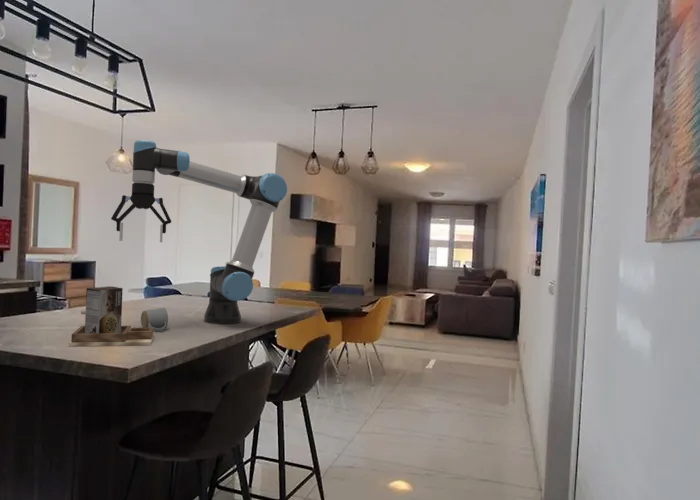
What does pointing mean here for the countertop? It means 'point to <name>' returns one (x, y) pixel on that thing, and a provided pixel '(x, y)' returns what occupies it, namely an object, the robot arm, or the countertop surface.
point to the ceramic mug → (155, 319)
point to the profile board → (113, 337)
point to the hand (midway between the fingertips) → (141, 241)
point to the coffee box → (103, 310)
